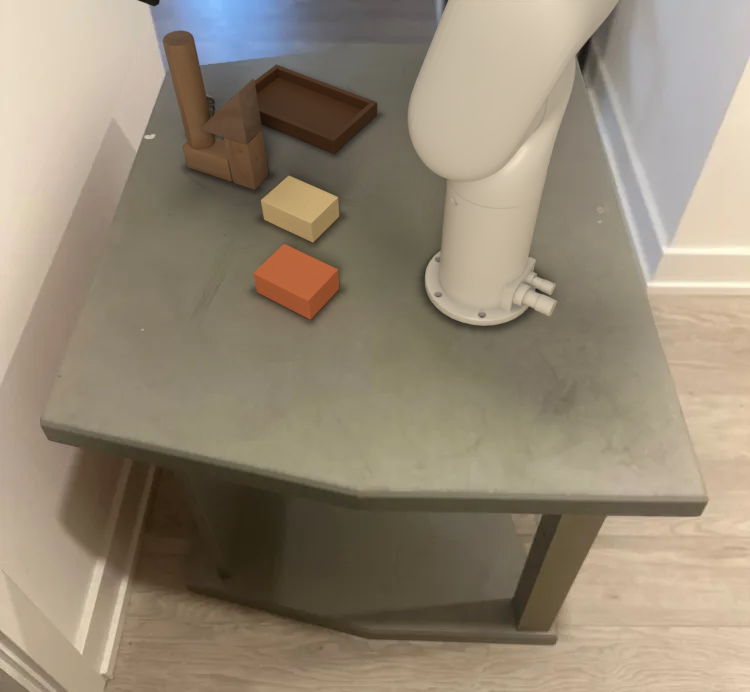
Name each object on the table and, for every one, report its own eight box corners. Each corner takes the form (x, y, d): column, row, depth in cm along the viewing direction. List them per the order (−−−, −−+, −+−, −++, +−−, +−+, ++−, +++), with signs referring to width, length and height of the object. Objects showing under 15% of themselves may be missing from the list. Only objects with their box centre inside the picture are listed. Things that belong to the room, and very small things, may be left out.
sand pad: (339, 216, 92) (338, 196, 90) (313, 243, 89) (311, 223, 87) (291, 195, 95) (288, 175, 92) (263, 219, 92) (260, 200, 90)
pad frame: (377, 114, 106) (377, 102, 104) (334, 154, 100) (333, 141, 98) (277, 76, 112) (276, 64, 110) (232, 111, 106) (229, 98, 105)
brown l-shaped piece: (255, 191, 95) (233, 63, 81) (186, 168, 98) (153, 41, 84) (270, 175, 97) (250, 47, 83) (202, 152, 100) (172, 26, 86)
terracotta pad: (339, 288, 85) (338, 269, 82) (310, 320, 82) (308, 300, 79) (286, 263, 87) (284, 243, 85) (256, 292, 85) (253, 272, 82)
